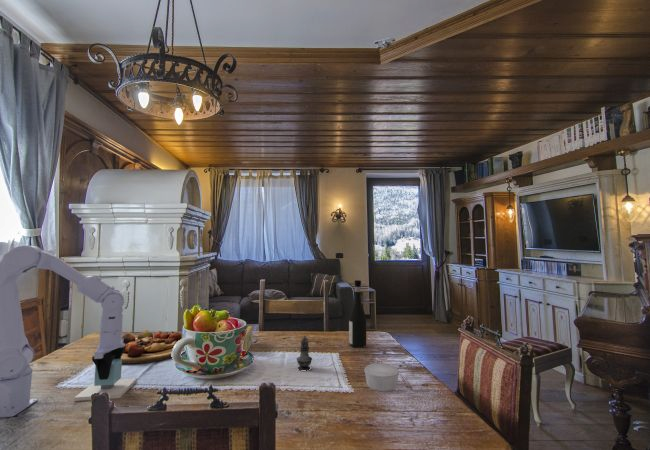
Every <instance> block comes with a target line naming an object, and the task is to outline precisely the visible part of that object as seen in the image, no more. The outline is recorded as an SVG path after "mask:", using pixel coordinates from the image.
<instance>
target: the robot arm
mask: <svg viewBox="0 0 650 450" xmlns="http://www.w3.org/2000/svg"><path fill="white" fill-rule="evenodd" d="M33 268H35V269H43V270H49V271H53V272H54V273H55V274H57V275H59V276H61V277H63V278H64V279H66V280H68V281H69V282H71V283H73V284H74V285H76V287H77V288H76V289H77V292H78V293H80V294H81V295H83V296H85V297H86V298H88V299H89V300H91V301H93V302H94V303H97V304H98V303H99V304H100V305H101V308H102V310H101V312H102V315H101V316H100V327H99V339H98V340H99V341H98V342H99V343H98V346H97V349H96V351H94V355H93V356H92V357H91V358H92V359H91V361H92V362H93V363H94V365H95V366H96V368H97V371H98V376H99V379H100V380H104V379H108V377H109V373H110V368H111V364H112V361H113V359H121V356H122V354H123V352H124V351H125V349H126V347H124V346H125V343H123V341H124V339H122V337H123V336H122V334H123V319H124V318H123V317H124V315H123V311H124V309H123V308H124V307H123V306H124V305H125V298H124V295H123V293H122V292H121V291H120V290H118V289H116V287H114V286H110V285H108V284H107V283H105V282H104V281H102V277H100V276H99V275H98V276H94V275H87V276H86V275H84V274H83V273H81V272H80V271H79V270H77V269H76V268H74V267H73V266H71V265H70V264H68V263H67V262H65V261H64V260H62V259H61V258H59V257H58V256H56V255H54V254H53V253H51V252H49V251H46V250H43V249H42V248H41V247H40V246H37V245H25V244H24V245H22V244H21V245H17V246H16V247H13V248H12V249H10V250H9V251H8V252H7V253H5V254H3V256H2V259H1V261H0V418H12V417H15V416H16V415H18V414H19V413H20V412H23V410H25V409H27V408H28V407H30V406H31V405H33V404H35V403H36V402H38V401H39V399H38V398H31V393H32V392H31V389H32V376H33V368H32V367H31V366H30V363H32V361H33V360H34V358H35V350H34V349H33V347H31V346H30V343H29V340H28V338H27V336H26V334H25V327H24V320H23V314H22V313H23V312H22V306H21V298H20V292H19V285H18V284H19V283H18V280H19V279H20V278H22V277H23V276H24V275H25V274H26V273H27V272H28V271H30V270H32V269H33Z"/></svg>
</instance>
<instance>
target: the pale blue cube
mask: <svg viewBox="0 0 650 450" xmlns="http://www.w3.org/2000/svg"><path fill="white" fill-rule="evenodd" d="M122 364H123V363H122V359H113V361H112V364H111V368H110V373H109V377H108V379H104V380H100V379H99V376H98V371H97V368H96V365H95V368H94V370H95V371H94V381H93V383H94V386H101V385H114V384H115V383H116V382H117V381H118V380H120V379H122V368H123V367H122V366H123V365H122Z"/></svg>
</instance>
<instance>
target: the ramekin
mask: <svg viewBox="0 0 650 450" xmlns="http://www.w3.org/2000/svg"><path fill="white" fill-rule="evenodd" d="M363 372H364V374H365V380H366V384H367V386H368V387H369V389H371V390H374V391H378V392H391V391H393V390H395V389H396V388H397V386H398V380H399V375H400V370H399V369H398V368H397V367H396V366H394V365H391V364H387V363H371V364H368V365H366V366H365V367H364V371H363Z"/></svg>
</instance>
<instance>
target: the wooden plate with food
mask: <svg viewBox="0 0 650 450" xmlns="http://www.w3.org/2000/svg"><path fill="white" fill-rule="evenodd" d="M182 335H183V334H181V333H180V332H174V331H171V333H169V332H168V331H167V332H162V330H160V331H157V332H156V333H155V334H153V333H152V331H150V330H148V329H145V330H143V331H142V332H140V333H139V334H138V335H137V339H136V337H135V335H134V334H133V333H132V332H130V331H128V332H126V333H125V334H123V336H121V339H124V341H123V343H125V346H124V347H126V349H125V351H124V352H123V354H122V356H121V359H122V364H144V363H153V362H159V361H163V360H168V358H169V359H172V358H171V352H172V348H173V346H174V344H175V343H176V342H177V341H178V340H180V339H181V340H182V337H183V336H182Z"/></svg>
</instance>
